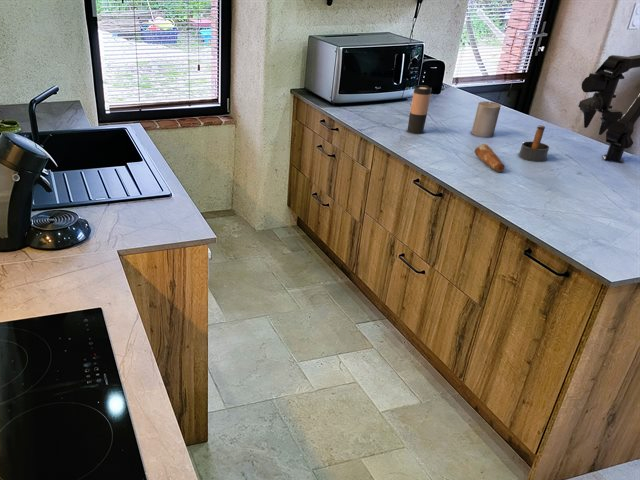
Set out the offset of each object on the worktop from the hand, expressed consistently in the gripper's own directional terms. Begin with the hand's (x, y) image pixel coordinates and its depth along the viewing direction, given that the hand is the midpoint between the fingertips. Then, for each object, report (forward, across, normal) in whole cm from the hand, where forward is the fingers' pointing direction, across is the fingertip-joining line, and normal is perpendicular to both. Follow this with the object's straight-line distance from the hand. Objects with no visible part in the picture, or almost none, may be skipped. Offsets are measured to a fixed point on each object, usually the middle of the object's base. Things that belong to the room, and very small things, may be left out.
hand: (592, 131), depth 237 cm
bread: (+13, -1, -40) cm, 42 cm away
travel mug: (+13, -46, -54) cm, 72 cm away
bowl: (+13, -8, -17) cm, 23 cm away
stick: (+12, -8, -17) cm, 23 cm away
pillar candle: (+13, -40, -24) cm, 48 cm away
